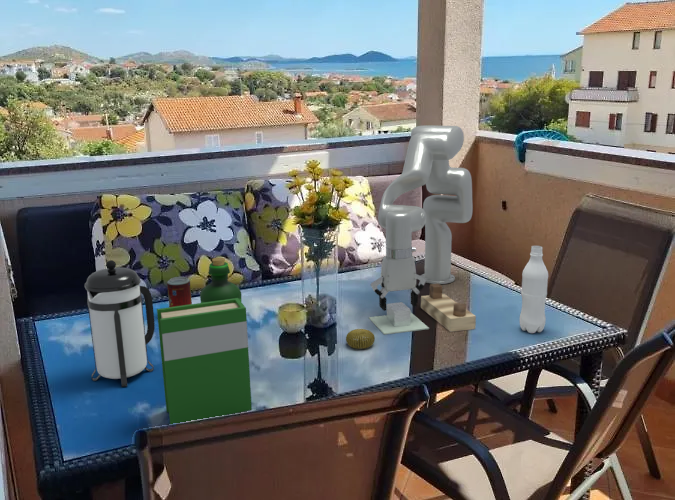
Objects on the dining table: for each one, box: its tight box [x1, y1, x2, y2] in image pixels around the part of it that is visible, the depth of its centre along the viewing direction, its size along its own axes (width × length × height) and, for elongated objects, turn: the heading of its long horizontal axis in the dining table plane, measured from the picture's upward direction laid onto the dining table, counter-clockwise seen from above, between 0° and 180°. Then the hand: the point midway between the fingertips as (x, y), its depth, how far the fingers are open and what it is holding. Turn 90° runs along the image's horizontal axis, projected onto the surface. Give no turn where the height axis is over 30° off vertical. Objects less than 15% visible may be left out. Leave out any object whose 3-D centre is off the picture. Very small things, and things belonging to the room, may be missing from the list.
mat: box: [368, 312, 430, 335], centre depth 189 cm, size 14×14×1 cm
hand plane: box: [420, 283, 477, 333], centre depth 192 cm, size 22×8×8 cm, turn 15°
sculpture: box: [345, 328, 376, 350], centre depth 173 cm, size 8×4×8 cm
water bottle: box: [519, 245, 549, 334], centre depth 178 cm, size 7×7×25 cm
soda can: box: [166, 276, 193, 307], centre depth 197 cm, size 7×7×12 cm
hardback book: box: [156, 298, 253, 424], centre depth 136 cm, size 18×7×24 cm, turn 112°
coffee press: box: [84, 260, 156, 388], centre depth 155 cm, size 17×16×30 cm
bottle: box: [199, 257, 242, 303], centre depth 160 cm, size 11×11×28 cm
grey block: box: [386, 301, 412, 327], centre depth 188 cm, size 7×5×5 cm
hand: (398, 307), depth 188 cm, fingers open, 9 cm apart
